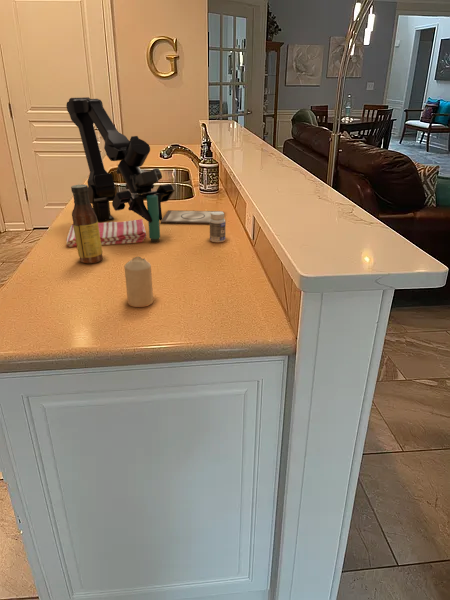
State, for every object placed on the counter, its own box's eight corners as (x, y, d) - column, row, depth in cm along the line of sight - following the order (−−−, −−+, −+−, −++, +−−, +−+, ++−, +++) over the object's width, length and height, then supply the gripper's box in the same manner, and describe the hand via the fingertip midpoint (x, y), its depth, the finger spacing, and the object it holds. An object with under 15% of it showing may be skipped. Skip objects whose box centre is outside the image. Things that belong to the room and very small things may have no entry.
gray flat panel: (160, 223, 158) (160, 221, 158) (168, 211, 172) (168, 209, 172) (220, 224, 157) (220, 222, 157) (222, 212, 171) (222, 210, 170)
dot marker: (148, 240, 142) (144, 195, 136) (158, 239, 143) (155, 194, 137) (152, 243, 139) (148, 197, 133) (162, 242, 141) (159, 196, 135)
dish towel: (147, 242, 140) (146, 231, 139) (65, 247, 136) (64, 236, 134) (143, 226, 155) (142, 215, 154) (70, 230, 151) (68, 220, 149)
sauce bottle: (107, 257, 128) (99, 184, 120) (94, 265, 123) (85, 189, 114) (87, 255, 130) (77, 182, 122) (73, 262, 125) (62, 187, 116)
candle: (129, 297, 106) (125, 254, 101) (153, 296, 106) (151, 254, 102) (126, 307, 101) (122, 263, 96) (152, 307, 101) (149, 263, 97)
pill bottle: (223, 243, 140) (223, 215, 136) (208, 242, 141) (207, 214, 137) (226, 238, 144) (227, 211, 140) (211, 237, 145) (211, 210, 141)
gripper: (112, 163, 128) (137, 210, 126) (169, 156, 139) (193, 200, 137) (102, 187, 137) (124, 232, 134) (156, 179, 148) (178, 220, 145)
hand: (156, 220), depth 137 cm, fingers closed on dot marker, 3 cm apart
